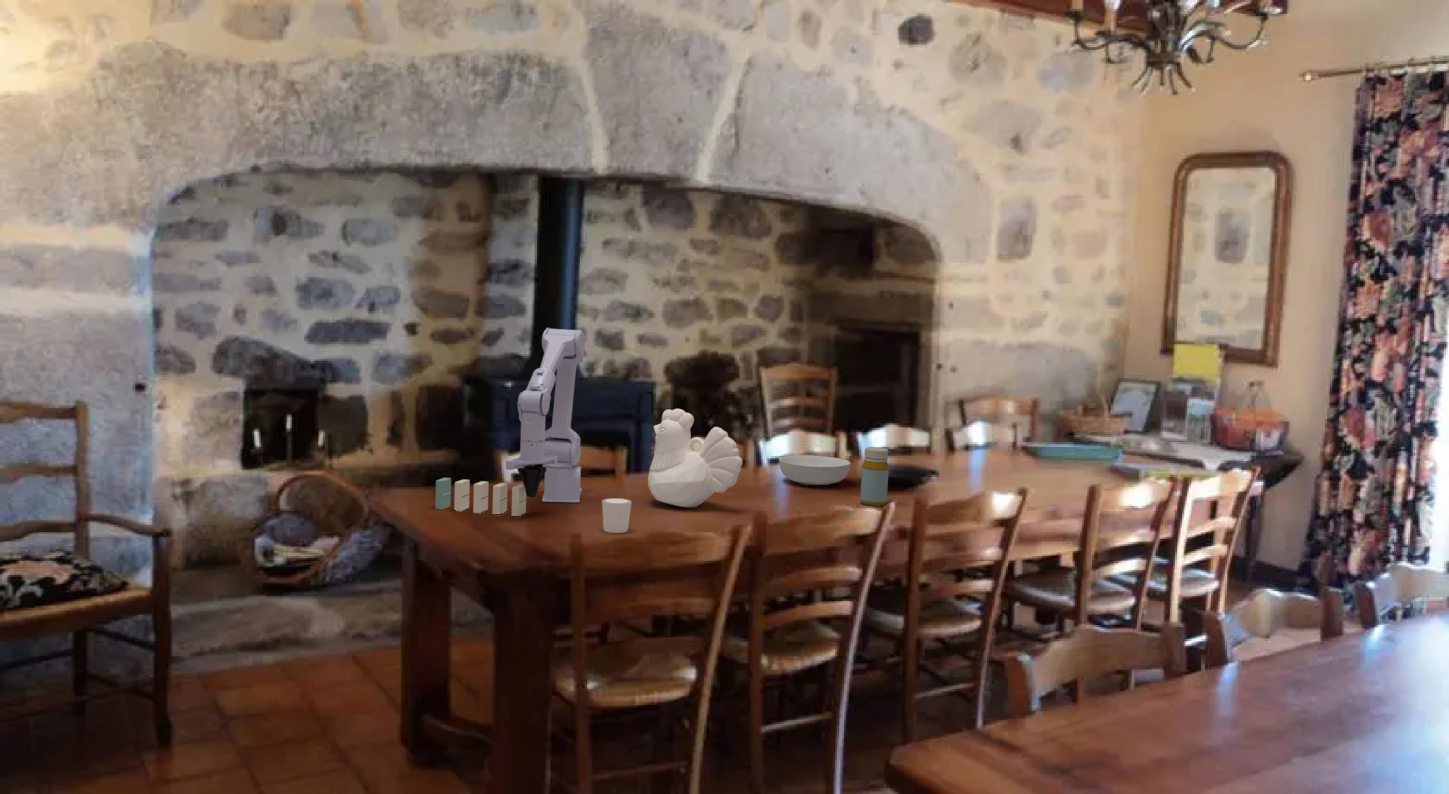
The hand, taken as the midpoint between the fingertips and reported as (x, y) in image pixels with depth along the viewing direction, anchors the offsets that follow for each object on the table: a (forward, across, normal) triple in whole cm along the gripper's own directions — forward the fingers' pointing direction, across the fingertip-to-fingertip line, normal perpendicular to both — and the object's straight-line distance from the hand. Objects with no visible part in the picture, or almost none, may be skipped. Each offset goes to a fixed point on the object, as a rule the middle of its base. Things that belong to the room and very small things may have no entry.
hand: (531, 496), depth 287 cm
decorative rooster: (+5, -39, +17) cm, 43 cm away
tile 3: (+5, +6, -12) cm, 14 cm away
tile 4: (+5, +4, -7) cm, 9 cm away
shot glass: (+5, -6, +23) cm, 24 cm away
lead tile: (+5, +1, -3) cm, 6 cm away
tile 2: (+5, +8, -16) cm, 19 cm away
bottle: (+5, -82, +45) cm, 93 cm away
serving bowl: (+5, -93, +17) cm, 94 cm away
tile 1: (+5, +10, -20) cm, 24 cm away
